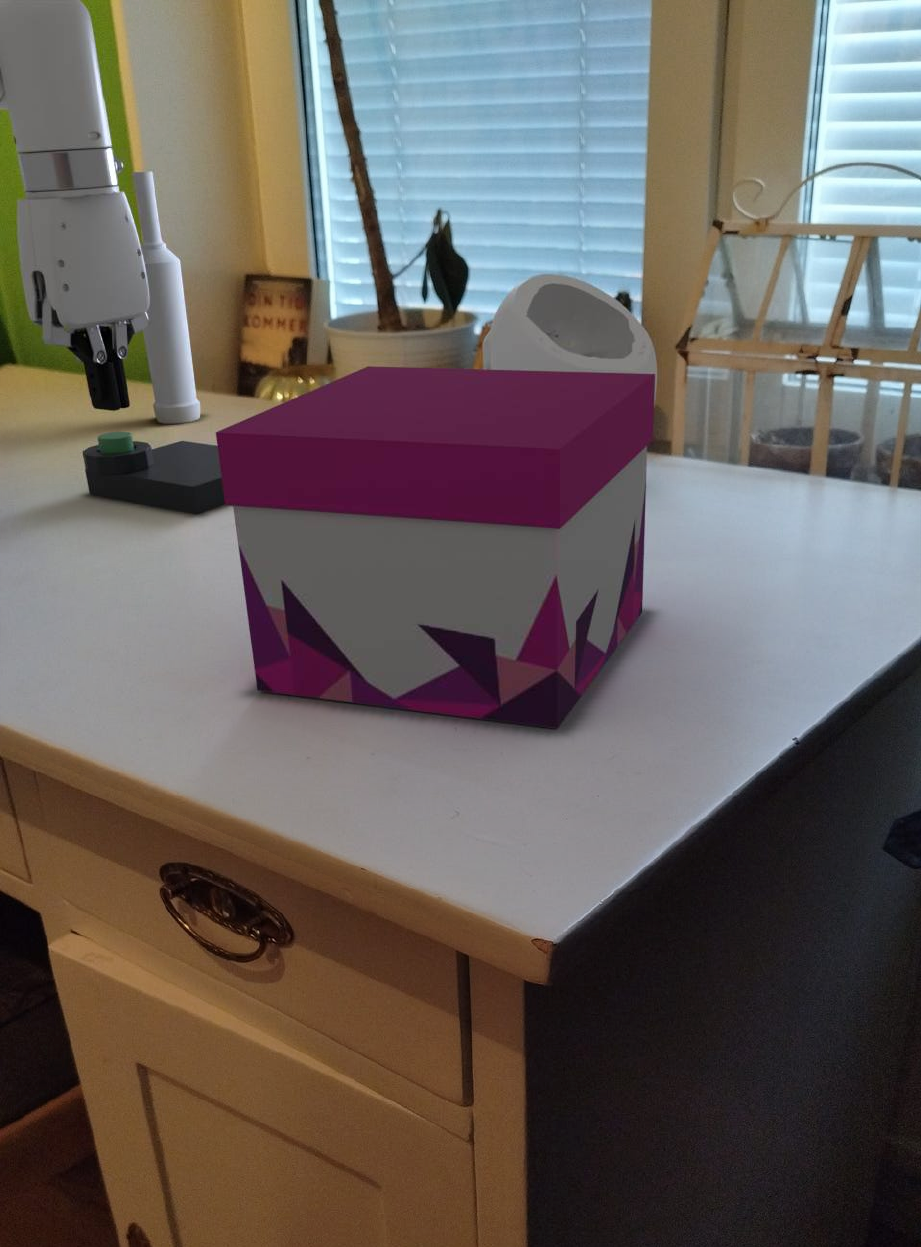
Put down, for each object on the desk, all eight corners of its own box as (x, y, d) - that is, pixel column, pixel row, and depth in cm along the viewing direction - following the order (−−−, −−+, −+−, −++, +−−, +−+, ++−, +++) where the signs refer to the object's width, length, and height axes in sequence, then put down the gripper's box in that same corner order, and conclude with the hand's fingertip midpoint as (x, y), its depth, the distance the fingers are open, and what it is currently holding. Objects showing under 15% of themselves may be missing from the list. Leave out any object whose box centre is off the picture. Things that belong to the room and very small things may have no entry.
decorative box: (384, 588, 89) (367, 366, 82) (647, 612, 83) (655, 374, 75) (250, 693, 74) (215, 432, 66) (560, 733, 67) (559, 449, 60)
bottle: (147, 424, 142) (107, 174, 129) (167, 414, 146) (130, 171, 134) (190, 424, 140) (154, 172, 128) (209, 414, 145) (175, 170, 132)
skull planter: (574, 416, 126) (612, 238, 111) (647, 556, 116) (701, 382, 100) (443, 431, 123) (463, 250, 107) (506, 577, 113) (539, 400, 97)
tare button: (93, 454, 113) (90, 437, 113) (119, 447, 116) (116, 430, 115) (115, 458, 112) (112, 440, 111) (141, 450, 114) (138, 433, 113)
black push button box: (78, 496, 115) (69, 452, 113) (182, 464, 124) (176, 423, 122) (188, 517, 107) (181, 470, 105) (291, 481, 116) (286, 437, 114)
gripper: (110, 171, 110) (146, 389, 119) (-37, 183, 100) (15, 422, 108) (169, 169, 106) (202, 395, 115) (22, 181, 96) (71, 429, 104)
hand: (111, 407), depth 112 cm, fingers closed
